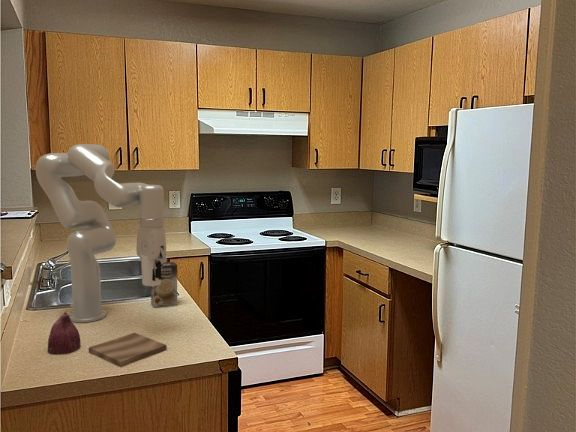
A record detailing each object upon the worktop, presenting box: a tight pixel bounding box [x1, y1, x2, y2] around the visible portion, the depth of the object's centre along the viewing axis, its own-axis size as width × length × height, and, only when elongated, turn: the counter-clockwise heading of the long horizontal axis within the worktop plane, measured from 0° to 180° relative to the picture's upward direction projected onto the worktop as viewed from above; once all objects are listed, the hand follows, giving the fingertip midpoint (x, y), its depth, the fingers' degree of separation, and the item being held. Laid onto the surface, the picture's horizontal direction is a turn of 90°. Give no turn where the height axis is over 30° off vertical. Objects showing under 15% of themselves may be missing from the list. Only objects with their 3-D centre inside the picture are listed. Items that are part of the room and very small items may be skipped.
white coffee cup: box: [140, 254, 161, 287], centre depth 168 cm, size 7×7×10 cm
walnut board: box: [88, 332, 168, 368], centre depth 154 cm, size 16×16×2 cm
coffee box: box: [150, 261, 178, 308], centre depth 199 cm, size 9×6×16 cm
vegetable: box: [47, 311, 81, 355], centre depth 154 cm, size 10×9×14 cm
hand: (152, 278), depth 168 cm, fingers closed on white coffee cup, 3 cm apart
